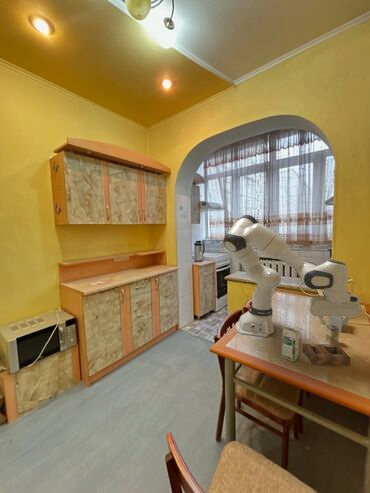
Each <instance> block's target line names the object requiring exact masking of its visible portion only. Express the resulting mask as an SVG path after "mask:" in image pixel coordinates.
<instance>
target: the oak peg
mask: <svg viewBox="0 0 370 493" xmlns="http://www.w3.org/2000/svg"><path fill="white" fill-rule="evenodd" d="M339 337H340V332H339V328H338V327H336V326H335V325H328V324H326V334H325V341H326V343H327V344H337V345H338V346H339Z"/></svg>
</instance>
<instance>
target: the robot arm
mask: <svg viewBox="0 0 370 493" xmlns="http://www.w3.org/2000/svg"><path fill="white" fill-rule="evenodd" d="M222 243H223V246H224V247H225V248H226V249H227V250H228V251H230V252H231V253H232V255H233V256H234V257H235V259H236V260H238V262H239V264H240V265H241V266H242V268H243V269H244V271H245V275H246V277H247V278H248V279H249V280H250V281H252V282H254V283H256V289H255V290H254V291H253V292H252V295H251V305H250V304H248V303H247V304H246V307H247V309H248V311H246V312H245V313H243V314H241V315H240V316H239V321H237V322H236V323H235V329H236V332H237V333H238V334H240V335H247V336H256V337H257V336H258V337H264V338H266V337H267V338H268V336H269V335H271V334H273V333H274V332H275V329H274V328H275V327H274V323H273V313H274V311H273V306H272V305H273V303H272V302H273V300H272V299H273V292H274V291H275V289H276V288H278V287H279V285H280V284H281V282H282V277H281V275H280V273H279V272H278V271H276V270H275V269H273V268H271V267H267V266H265V265H264V264H262V262H261V261H260V254H259V253H258V252H257V251H256V250H255V248H256V249H257V250H258V251H260V252H261V253H262V254H263V255H265V256H266V257H269V258H270V259H273V260H280V261H282V262H284V263H285V264H286V265H288V266H289V267H290V268H292V269H293V270H294V271H295V272H296V274H297V276H298V278H299V279H300V280H302V282H303V284H304V285H305V286H306V287H307V288H309V289H310V290H311V289H312V290H323V295H314V296H312V297H311V298H310V306H309V312H310V314H311V315H312V316H314V317H318V319H319V320H320V325H321V326H324V325H325V326H327V324H326V323H327V321H326V320H325V319H324V317H329V316H343V317H345V318H343V320H342V321H343V322H342V324H343V325H344V326H348V325H349V321H350V320H351V319H352V317H359V316H361V314H362V307H361V306H362V305H361V303H360V301H361V298H360V296H358V295H356V294H354V293H352V292H349V290H348V287H347V286H348V283H349V269H348V265H347V264H346V263H344V262H342V261H339V260H335V259H328V260H326V261H325V262H324V263H323V262H322V263H321V264H319V265H318V264H315V263H313V262H309V261H306V260H304V259H302V258H301V257H300V256H299V255H297V254H296V253H295V252H293V251H292V250H291V249H290V247H289V245H288V242H286V241H285V240H284V238H283V237H281V236H280V235H279V234H278V233H276V231H274V230H272V228H269V227H268V226H266V225H264V224H262V223H259V222H258V220H257V219H256V218H255V217H254V216H253V215H250V214H244V215H242V216H241V217H240V218H238V220H237V221H236V222H235V223H234V224H233V225H232V226H231V228H230V229H229V230H228V232H227V233H226V234H225V236H224V238H223V241H222ZM253 246H254V247H255V248H254V247H253Z"/></svg>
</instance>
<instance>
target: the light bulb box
mask: <svg viewBox="0 0 370 493" xmlns="http://www.w3.org/2000/svg"><path fill="white" fill-rule="evenodd" d="M342 320H344V316H328V320H327V322H328V323H327V325H335V326H336V327H338V328H339V333H342V329H343V325H344V324H342V322H343V321H342Z"/></svg>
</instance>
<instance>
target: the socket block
mask: <svg viewBox="0 0 370 493" xmlns="http://www.w3.org/2000/svg"><path fill="white" fill-rule="evenodd" d="M302 352H303V354H305V356H306V357H307V359H308V361H309V362H310V363H311V365H320V366H323V365H324V366H351V356H350V355H348V353H347V352H345V351H344V349H342V348H341V346H340V345H339V344H338V345H337V344H329V343H325V344H324V343H303V344H302Z"/></svg>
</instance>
